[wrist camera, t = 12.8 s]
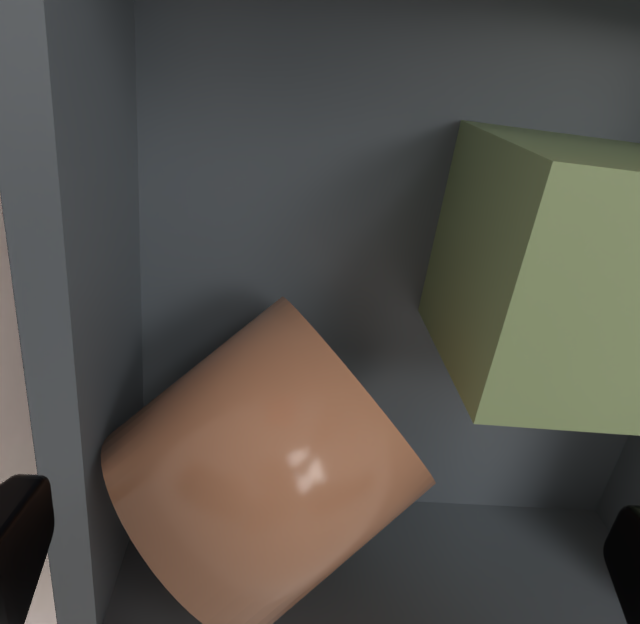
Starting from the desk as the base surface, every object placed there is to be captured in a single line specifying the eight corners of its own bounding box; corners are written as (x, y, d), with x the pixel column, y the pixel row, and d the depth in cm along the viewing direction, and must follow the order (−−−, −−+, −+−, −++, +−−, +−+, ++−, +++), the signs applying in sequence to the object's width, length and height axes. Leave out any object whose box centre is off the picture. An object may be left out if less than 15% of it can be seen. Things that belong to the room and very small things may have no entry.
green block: (658, 145, 11) (843, 197, 7) (589, 326, 13) (711, 440, 9) (461, 120, 10) (552, 161, 7) (417, 310, 12) (473, 424, 9)
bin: (842, -21, 10) (1206, -62, 6) (599, 513, 16) (704, 672, 12) (95, -140, 9) (-63, -292, 5) (124, 490, 15) (62, 661, 11)
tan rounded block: (429, 463, 7) (193, 664, 7) (440, 495, 11) (287, 625, 11) (254, 257, 9) (63, 408, 9) (314, 345, 13) (182, 452, 13)
